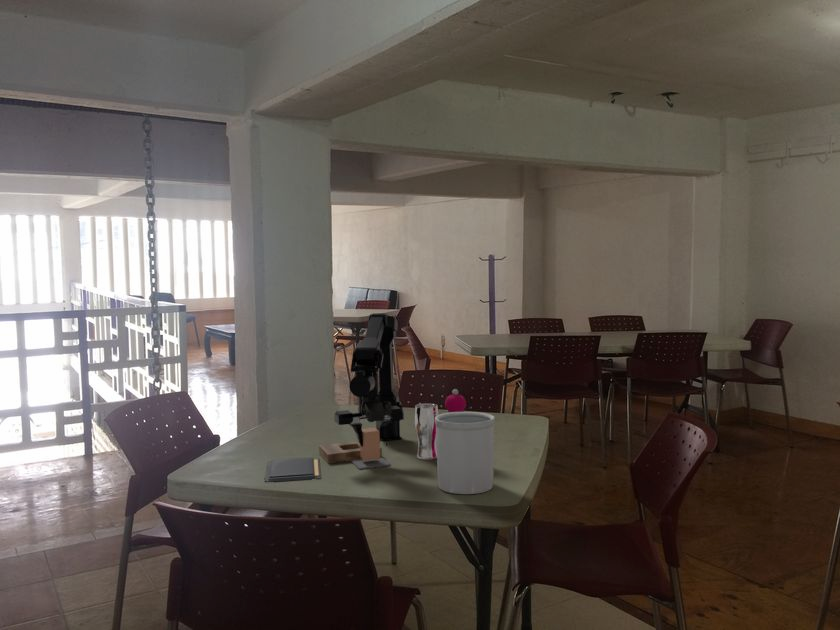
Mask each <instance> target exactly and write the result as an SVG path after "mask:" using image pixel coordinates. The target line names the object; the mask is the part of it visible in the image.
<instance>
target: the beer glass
mask: <svg viewBox="0 0 840 630" xmlns="http://www.w3.org/2000/svg"><path fill="white" fill-rule="evenodd" d="M438 407H439V406H438V404H435V403H418V404H416V405H414V417H413V418H414V429H415V433H416V438H417V453H416V458H417V459H419V460H425V461H428V460H429V461H430V460H434V459H437V440H436V424H435V417H436V416H437V415H439V409H438Z"/></svg>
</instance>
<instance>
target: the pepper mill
mask: <svg viewBox="0 0 840 630" xmlns="http://www.w3.org/2000/svg"><path fill="white" fill-rule="evenodd" d="M451 393H452V394H450V395H447V397H446V398H445V402H444V406H445V409H446V410H447V412H446V413H450V412H465V411H464V410H465V409H466V407H467V401H466V398H465V397H464V396H463V395H460V394H459V390H458V389H457V388H454V389H452V391H451Z"/></svg>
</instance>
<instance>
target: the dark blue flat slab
mask: <svg viewBox="0 0 840 630" xmlns="http://www.w3.org/2000/svg"><path fill="white" fill-rule="evenodd" d="M320 461H321V460H320V458H313V457H299V458H298V457H296V458H282V459H281V458H280V459H272V460H270V461H268V462H267V464H268V465H267V466H266V473H265V476H266V477H265V476H264V480H265V481H264V483H266V482H274V483H284V482H285V483H289V482H302V481H311V480H312V479H316V480H322V473H321V472H322V471H321V462H320ZM312 481H313V480H312Z"/></svg>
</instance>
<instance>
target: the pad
mask: <svg viewBox="0 0 840 630" xmlns="http://www.w3.org/2000/svg"><path fill="white" fill-rule="evenodd" d="M350 462H351V463H352V464H353V465H354V466H355V467H356V468H357V469H358V470H366V469H367V468H368V469H374V468H375V467H376V468H382V467H383V466H384V467H389V466H391V463H390V462H389V461H387V460H386V459H384V458H383V456H382V457H381V456H380V459H377V460H369V461H364V460H363V459H354V460H351V461H350ZM384 467H383V468H384ZM368 469H367V470H368Z"/></svg>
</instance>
